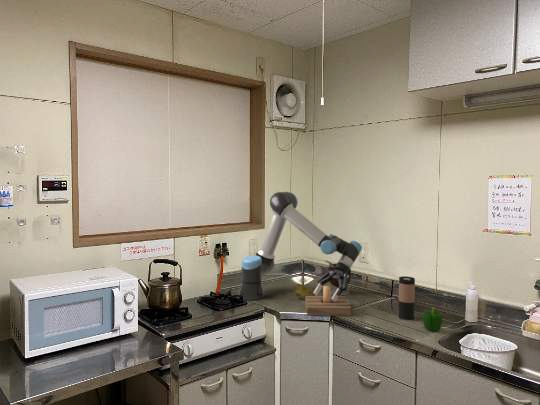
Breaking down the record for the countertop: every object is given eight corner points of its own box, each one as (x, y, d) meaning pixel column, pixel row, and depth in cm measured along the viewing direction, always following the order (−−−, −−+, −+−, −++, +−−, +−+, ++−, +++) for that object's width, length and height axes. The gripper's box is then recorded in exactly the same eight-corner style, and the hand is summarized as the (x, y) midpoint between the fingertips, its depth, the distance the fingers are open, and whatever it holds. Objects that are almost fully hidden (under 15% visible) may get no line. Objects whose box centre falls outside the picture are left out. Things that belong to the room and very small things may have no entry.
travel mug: (401, 314, 213) (402, 275, 212) (416, 317, 208) (417, 277, 207) (395, 318, 207) (396, 278, 206) (410, 321, 202) (411, 280, 201)
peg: (322, 307, 224) (323, 285, 223) (330, 308, 223) (330, 285, 223) (323, 310, 220) (323, 287, 219) (331, 310, 219) (331, 287, 219)
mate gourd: (349, 290, 261) (350, 258, 260) (351, 296, 247) (352, 263, 247) (324, 289, 263) (325, 258, 262) (325, 295, 249) (325, 262, 248)
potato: (308, 302, 233) (308, 288, 233) (291, 298, 243) (291, 284, 243) (317, 300, 239) (317, 286, 239) (301, 295, 248) (301, 282, 248)
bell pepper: (435, 334, 184) (435, 312, 184) (419, 329, 191) (419, 307, 190) (446, 330, 189) (446, 308, 189) (429, 325, 196) (430, 304, 195)
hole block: (305, 302, 233) (305, 295, 233) (344, 303, 232) (344, 296, 232) (307, 315, 211) (307, 307, 211) (350, 315, 210) (351, 307, 210)
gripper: (364, 273, 220) (345, 306, 212) (330, 266, 240) (311, 296, 231) (358, 264, 217) (338, 298, 208) (324, 258, 237) (304, 288, 228)
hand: (323, 297), depth 220 cm, fingers open, 13 cm apart
